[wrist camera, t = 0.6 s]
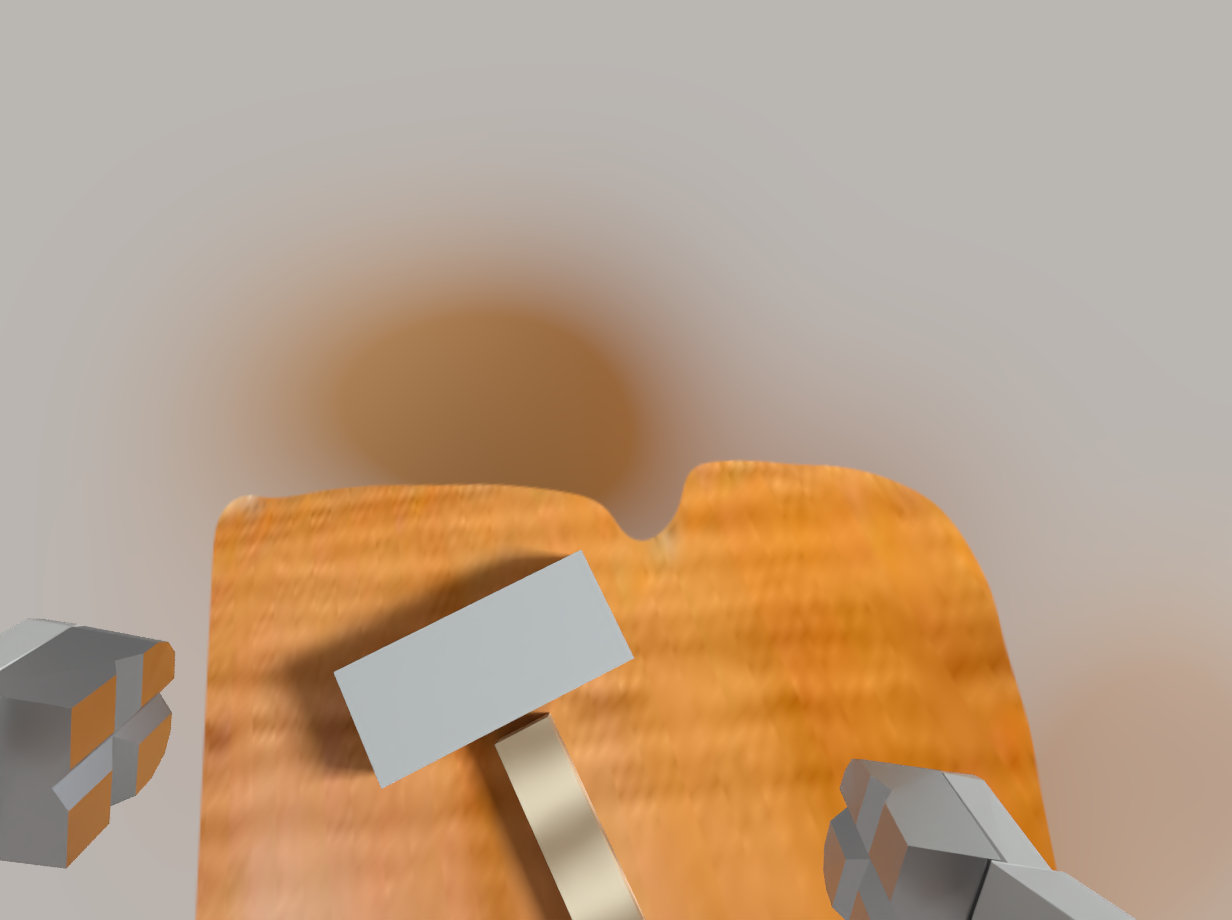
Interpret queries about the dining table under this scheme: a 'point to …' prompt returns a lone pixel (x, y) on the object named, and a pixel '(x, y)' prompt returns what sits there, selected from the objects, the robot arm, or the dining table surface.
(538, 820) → the slat
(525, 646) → the end cap
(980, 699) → the dining table surface
